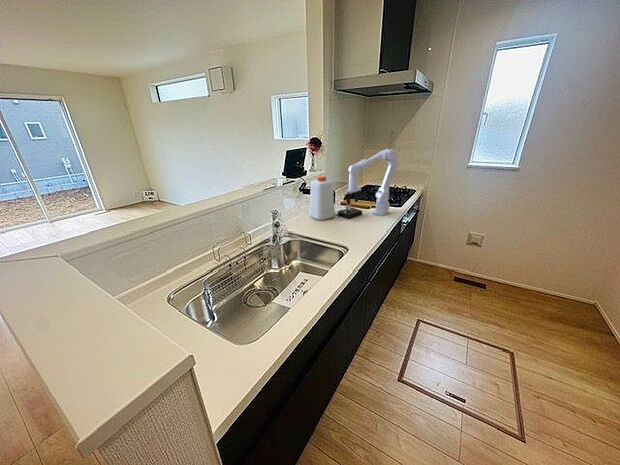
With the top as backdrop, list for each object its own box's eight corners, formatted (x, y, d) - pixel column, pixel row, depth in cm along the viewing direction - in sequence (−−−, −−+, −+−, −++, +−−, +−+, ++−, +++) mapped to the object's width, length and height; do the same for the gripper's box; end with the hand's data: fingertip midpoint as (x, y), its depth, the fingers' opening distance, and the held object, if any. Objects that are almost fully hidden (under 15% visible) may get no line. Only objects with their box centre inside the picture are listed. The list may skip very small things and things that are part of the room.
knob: (348, 209, 181) (348, 203, 180) (352, 211, 178) (352, 205, 177) (344, 210, 179) (344, 205, 177) (348, 212, 176) (348, 206, 174)
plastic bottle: (337, 217, 177) (337, 177, 165) (319, 221, 169) (319, 180, 158) (324, 211, 188) (323, 174, 177) (307, 215, 180) (306, 176, 169)
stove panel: (351, 211, 187) (351, 207, 186) (361, 214, 180) (362, 210, 179) (337, 215, 180) (338, 211, 178) (348, 219, 172) (348, 214, 171)
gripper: (356, 180, 177) (355, 199, 183) (341, 184, 169) (341, 203, 175) (363, 182, 172) (362, 201, 177) (348, 185, 164) (348, 205, 170)
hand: (352, 202), depth 176 cm, fingers open, 7 cm apart
